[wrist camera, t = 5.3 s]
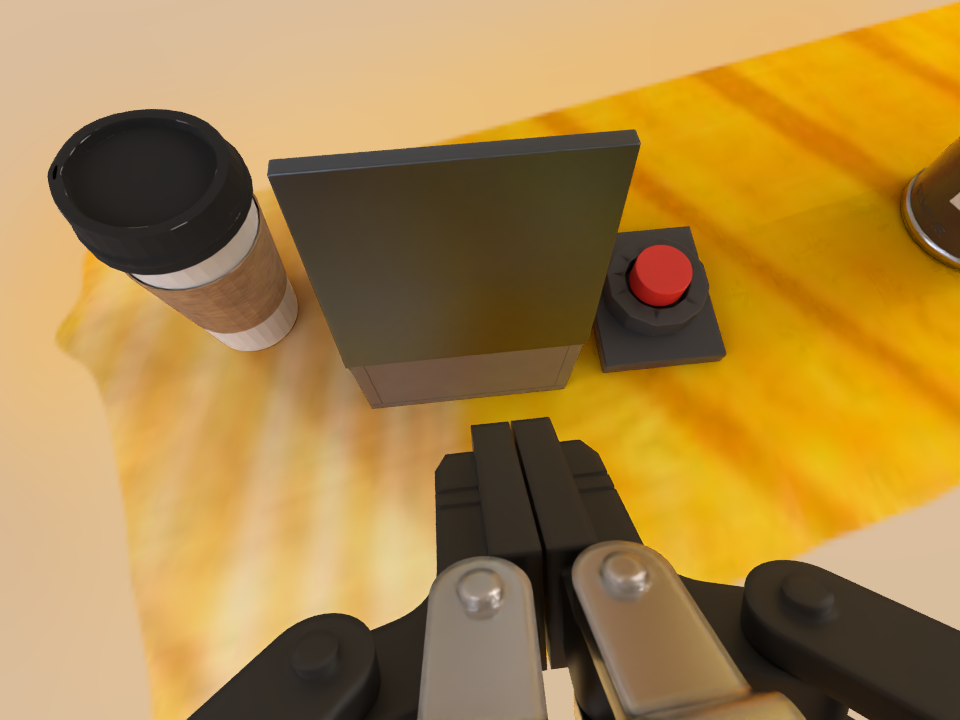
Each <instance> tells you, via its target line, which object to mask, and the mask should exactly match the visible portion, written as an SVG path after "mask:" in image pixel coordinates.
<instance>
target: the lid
mask: <svg viewBox="0 0 960 720" xmlns="http://www.w3.org/2000/svg"><path fill="white" fill-rule="evenodd" d="M640 145H641V143H640V140H639V137H638V135H637V132H636V130H634V129H633V130H621V131H609V132H598V133H586V134H574V135H562V136H550V137H538V138H526V139H514V140H502V141H490V142H478V143H466V144H454V145H442V146H430V147H418V148H406V149H394V150H382V151H371V152H358V153H346V154H334V155H322V156H310V157H299V158H286V159H274V160H269V164H268V173H267V176H268V178H269V181H270V183H271V186H272V188H273V191H274V193H275V196H276V198H277V201H278V203H279V205H280V208H281V210H282V213H283V215H284V218H285V220H286V223H287V225H288V227H289V230H290V232H291V235H292V237H293V240H294V242H295V245H296V247H297V250H298V252H299V254H300V257H301V259H302V262H303V264H304V267H305V269H306V272H307V274H308V276H309V279H310V281H311V284H312V286H313V289H314V291H315V294H316V296H317V299H318V301H319V303H320V306H321V308H322V311H323V313H324V316H325V318H326V321H327V323H328V325H329V328H330V330H331V333H332V335H333V338H334V340H335V343H336V345H337V348H338V350H339V352H340V355H341V357H342V360H343V362H344V365H345V367H346V368H354V367H364V366H374V365H384V364H394V363H404V362H414V361H424V360H434V359H444V358H454V357H464V356H474V355H484V354H494V353H504V352H513V351H523V350H533V349H543V348H553V347H563V346H573V345H583V344H588V341H589V337H590V334H591V330H592V326H593V322H594V318H595V315H596V311H597V307H598V303H599V300H600V296H601V292H602V288H603V284H604V281H605V277H606V273H607V269H608V266H609V262H610V258H611V254H612V251H613V247H614V243H615V239H616V235H617V232H618V228H619V224H620V220H621V217H622V213H623V209H624V205H625V201H626V198H627V194H628V190H629V186H630V183H631V179H632V175H633V171H634V167H635V164H636V160H637V156H638V152H639V149H640Z"/></svg>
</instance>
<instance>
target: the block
mask: <svg viewBox="0 0 960 720" xmlns="http://www.w3.org/2000/svg"><path fill="white" fill-rule="evenodd" d="M655 245H667V246H671V247H674V248H676V249H678V250H679V251H681V252H682V253H683V254H684V255H685V256H686V257H687V258H688V260H689V261H690V263H691V266H692V272H693V274H692V279H691V282H690V284H689V285H688V287H687V288H686V290H685V291H684V292H683V294H682V295H681V297H680V298H679V299H678V300H677V301H676V302H674V303H672V304H670V305H667V306H652V305H649V304H646V303H644V302H643V301H641V300H640V299H639V298H637V297H636V295H635V294H634V293H633V291H632V289H631V287H630V283H629V276H630V272H631V270H632V268H633V266H634V264H635V262H636V260H637V258H638V256H639V254H640V253H641V252H642V251H644V250H645V249H647V248H649V247H651V246H655ZM708 290H709V283H708V280H707V276H706V273H705V269H704V266H703V264H702V262H701V261H700V260H699V258H698V254H697V251H696V247H695V244H694V240H693V237H692V233H691V230H690V227H689V226H688V227H677V228H666V229H655V230H644V231H633V232H622V233H617V235H616V239H615V243H614V247H613V251H612V254H611V258H610V262H609V266H608V269H607V273H606V277H605V281H604V284H603V288H602V292H601V296H600V300H599V303H598V307H597V311H596V315H595V318H594V322H593V326H594V331H595V336H596V341H597V346H598V351H599V356H600V361H601V366H602V371H603V373H607V372H616V371H626V370H636V369H646V368H655V367H665V366H675V365H684V364H694V363H704V362H713V361H720V360H721V359H722V358H723V357H724V356H725V355H726V351H725V348H724V344H723V341H722V337H721V334H720V331H719V327H718V324H717V320H716V317H715V313H714V310H713V306H712V303H711V299H710V296H709V292H708Z"/></svg>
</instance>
